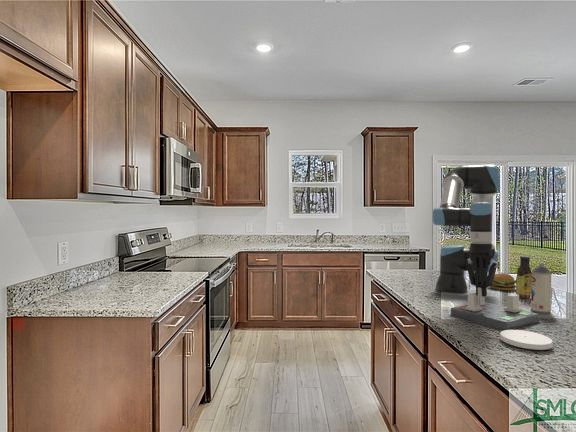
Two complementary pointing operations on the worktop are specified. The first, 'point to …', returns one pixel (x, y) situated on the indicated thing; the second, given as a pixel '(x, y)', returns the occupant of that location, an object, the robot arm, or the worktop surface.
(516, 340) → the plastic lid
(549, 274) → the aerosol can
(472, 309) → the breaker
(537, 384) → the worktop surface
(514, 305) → the lever
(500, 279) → the food
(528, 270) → the sauce bottle
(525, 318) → the breaker box
